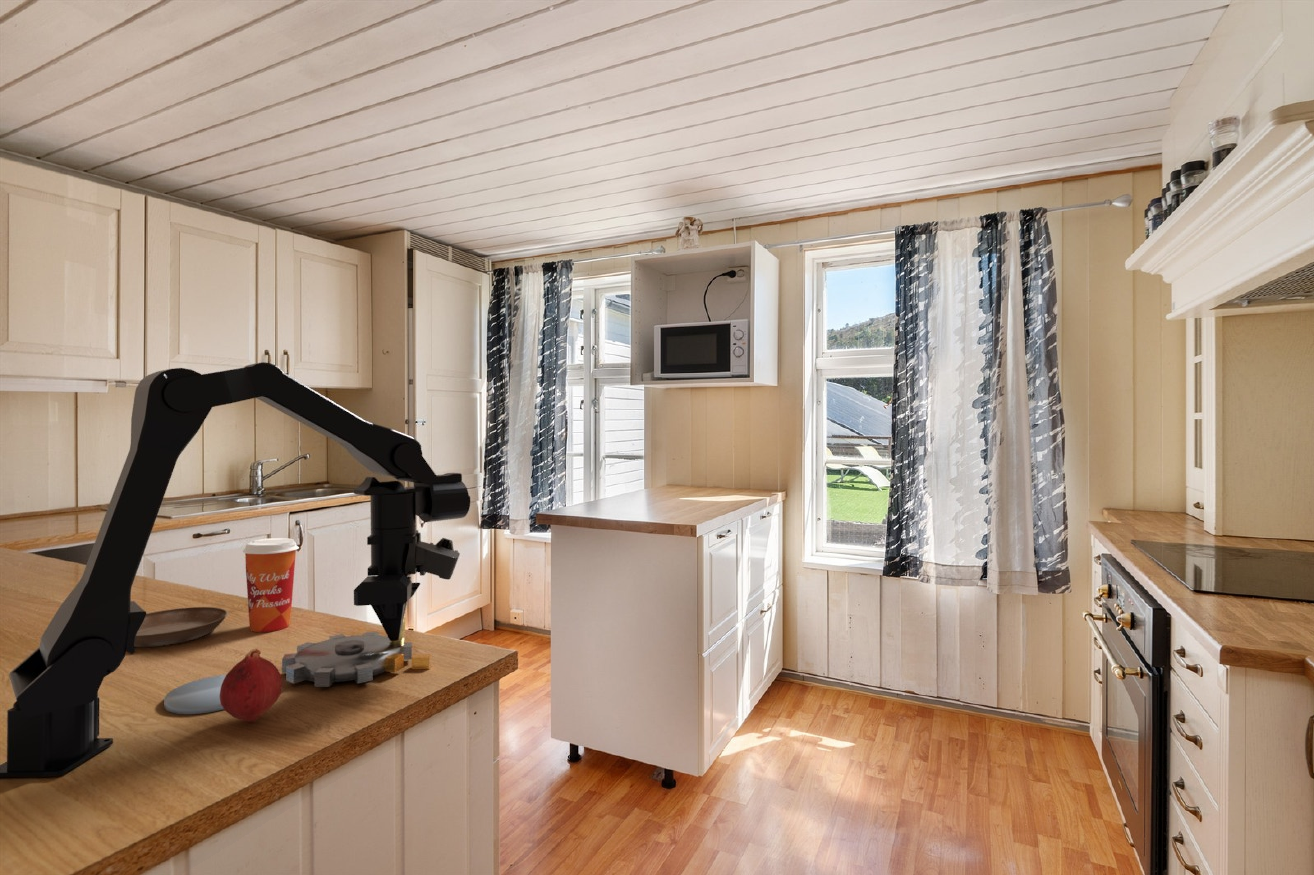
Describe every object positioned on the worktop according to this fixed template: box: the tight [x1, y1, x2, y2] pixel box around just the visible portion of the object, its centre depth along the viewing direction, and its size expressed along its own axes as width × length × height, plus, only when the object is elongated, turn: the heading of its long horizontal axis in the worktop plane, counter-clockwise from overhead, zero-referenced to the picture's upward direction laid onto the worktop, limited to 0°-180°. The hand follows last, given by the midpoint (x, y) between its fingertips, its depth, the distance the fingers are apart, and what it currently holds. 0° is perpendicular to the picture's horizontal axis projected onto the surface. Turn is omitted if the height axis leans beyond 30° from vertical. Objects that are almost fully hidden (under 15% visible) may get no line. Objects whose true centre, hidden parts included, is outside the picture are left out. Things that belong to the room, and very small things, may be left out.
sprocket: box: [281, 617, 413, 688], centre depth 87 cm, size 16×16×5 cm
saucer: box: [134, 606, 229, 648], centre depth 99 cm, size 15×15×3 cm
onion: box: [220, 648, 283, 723], centre depth 71 cm, size 6×6×8 cm
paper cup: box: [242, 537, 300, 633], centre depth 104 cm, size 8×8×14 cm
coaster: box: [163, 673, 227, 715], centre depth 77 cm, size 10×10×1 cm
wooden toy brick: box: [411, 653, 433, 670], centre depth 87 cm, size 8×15×2 cm, turn 93°
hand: (394, 640), depth 87 cm, fingers closed
